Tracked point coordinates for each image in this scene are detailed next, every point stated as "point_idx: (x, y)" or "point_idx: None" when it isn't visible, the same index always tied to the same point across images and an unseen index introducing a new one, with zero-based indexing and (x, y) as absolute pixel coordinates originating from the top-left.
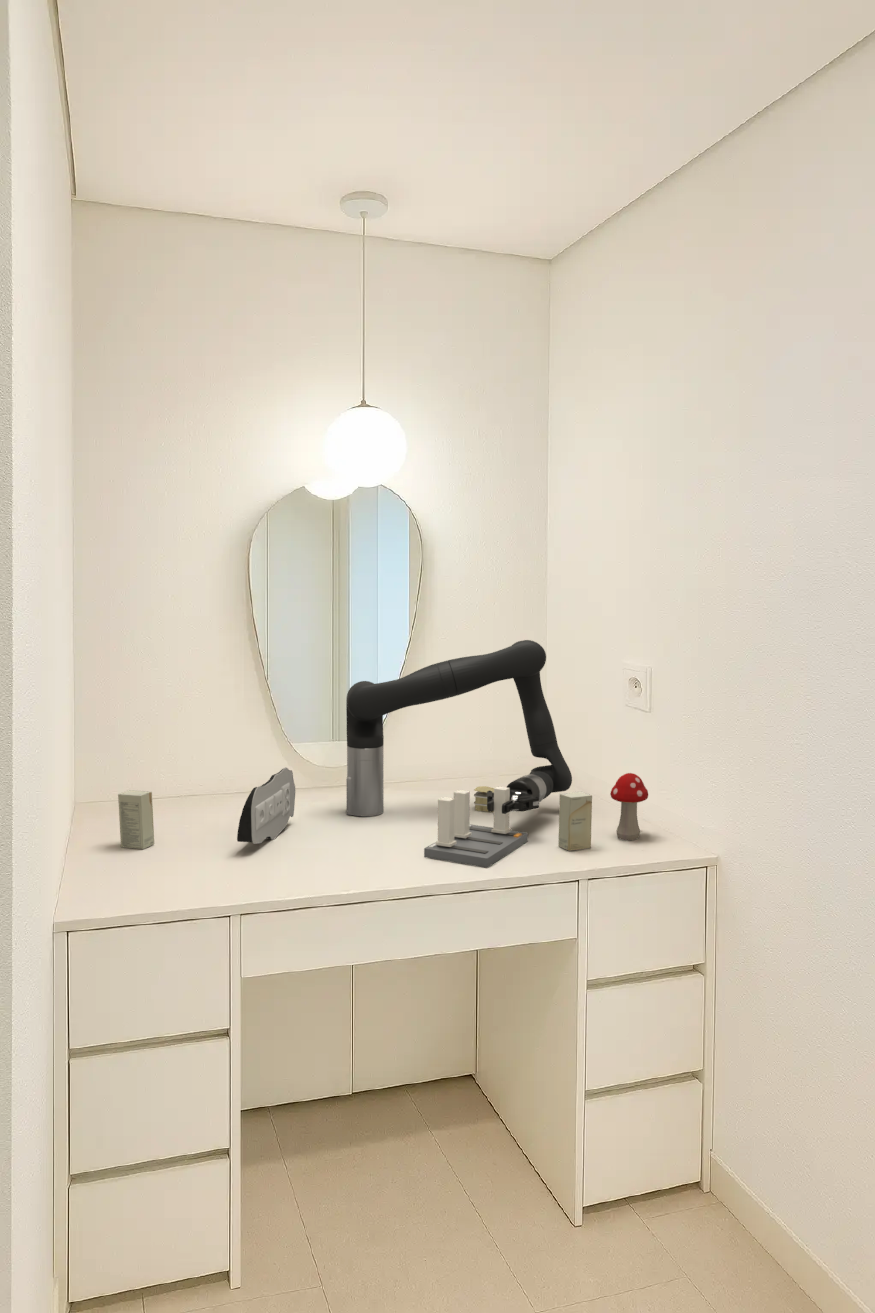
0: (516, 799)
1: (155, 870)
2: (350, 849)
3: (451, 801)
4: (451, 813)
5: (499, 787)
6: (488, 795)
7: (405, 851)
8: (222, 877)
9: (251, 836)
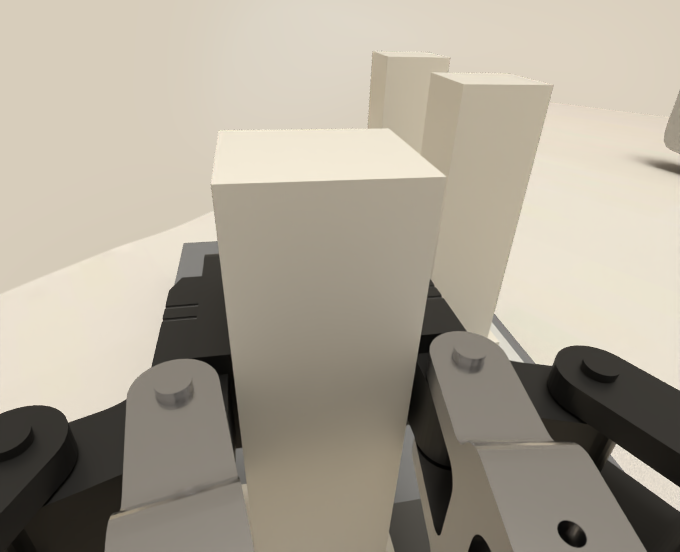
0: (126, 449)
1: (623, 128)
2: (614, 227)
3: (377, 59)
4: (373, 120)
5: (381, 158)
6: (666, 395)
7: (513, 265)
8: (545, 135)
9: (669, 129)
